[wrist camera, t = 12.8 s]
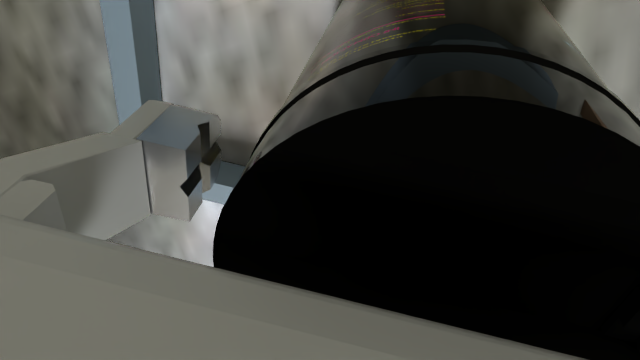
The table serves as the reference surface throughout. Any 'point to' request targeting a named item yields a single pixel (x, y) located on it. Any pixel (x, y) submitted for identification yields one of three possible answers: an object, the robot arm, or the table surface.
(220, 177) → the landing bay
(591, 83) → the supplement container
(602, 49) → the table surface
